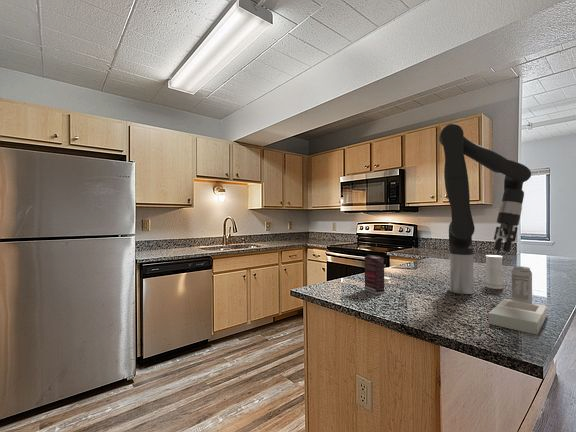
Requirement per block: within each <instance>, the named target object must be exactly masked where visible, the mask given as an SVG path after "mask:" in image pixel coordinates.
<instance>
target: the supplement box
mask: <svg viewBox="0 0 576 432" xmlns="http://www.w3.org/2000/svg"><path fill="white" fill-rule="evenodd" d="M364 290H365V291H367V292H369V293H373V294H375V295H380V294H381V295H382V294H385V257H380V256H375V255H365V256H364Z"/></svg>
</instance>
